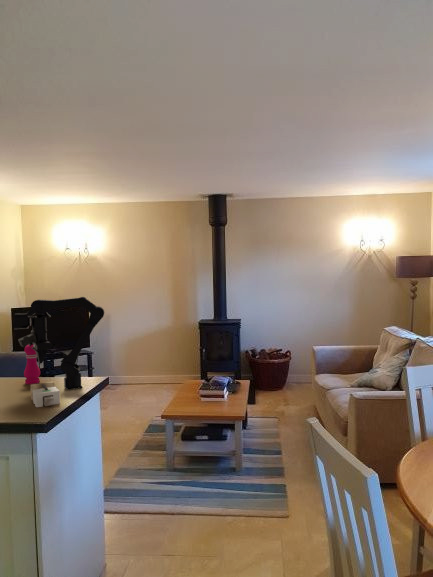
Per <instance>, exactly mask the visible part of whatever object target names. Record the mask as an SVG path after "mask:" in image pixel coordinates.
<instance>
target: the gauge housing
mask: <svg viewBox="0 0 433 577" xmlns="http://www.w3.org/2000/svg"><path fill="white" fill-rule="evenodd" d="M49 395H52V397H53V398H54V405H59V404H61V397H60V396H61V395H60V389H58V387H56V386H55V387H50V388H48V390H45V389H44V388H41V389H36V390H33V400H32V403H33V405H34V404H35V405H34V406H35V407H36V408H41V407H44V403H43V396H49Z"/></svg>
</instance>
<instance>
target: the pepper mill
mask: <svg viewBox="0 0 433 577" xmlns="http://www.w3.org/2000/svg"><path fill="white" fill-rule="evenodd" d="M32 347H33V345H31V346H29V345H26V346H25V347H24V354H25V359H26V365H25V369H24V371H23V377H24V378H25V385H32V384H39V383H40V378H39V377H40V375H41V370H40V368H39V366H38V362H37V358H38V357H37V354H36V351H35V350H33V349H32Z"/></svg>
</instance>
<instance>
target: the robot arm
mask: <svg viewBox="0 0 433 577" xmlns="http://www.w3.org/2000/svg"><path fill="white" fill-rule="evenodd" d="M72 307H82V308H83V309H84V310H86V312H88V313H89V317H88V320H87V323H86V325H85V327H84V328H83V330H82V332H81V333H80V335H79V337H78V338H77V340H76V342H75V344H74V345H73V347H72V349H71V350H70V351H69V352H68V351H65V353H64V355H63V358H62V359H61V360H60V369H61V371H62V372H64V374H65V376H64V378H63V384H64V385H63V386H64V388H65V389H66V390H67V391H69V390H70V391H71V390H76V389H83V386H82V373H80V370H81V366H80V365H78V364H77V361H78V358H79V355H80V353H81V351H82V349H83V348H84V346H85V344H86V343H87V341H88V339H89V337H90V335H91V334H92V332H93V330H94V329H95V327H97V325H98V324H99V322H100V321H101V320H102V319H103V318H104V316H105V309H104V308H103V307H102V306H100V305H98V306H97V305H96V304H94V303H93V302H91V301H90V300H88V299H87V298H86V297H85V296H80V297H72V298H64V299H63V298H62V299H56V300H53V299H35V300H33V301H32V302H31V304H30V309H29V310H28V311H27V312H26V313H14V314H13V320H12V328H13V330H27V329H29V328H30V327H31V326H32V327H31V328H32V330H31V331H30V334H28V335H26V336H23V337H20V338H18V339H17V340H18V343H19V345H20V347H22V348H25V347H26V346H27V345H29V346H31V345H33V347H32V349H33V350H35V351H36V354H37V357H36V358H37V360H38V364H43V363H44V360H45V357H46V355H47V354H48V351H49V350H51V349H53V343H52V342H50V341H49V339H48V337H47V336H48V334H47V333H48V332H49V330H48V329H47V318H51V317H52V315H50V314H49V313H48V312H47V311H51V310H55V309H63V308H72ZM36 314H37V315H36ZM34 315H35V316H34Z"/></svg>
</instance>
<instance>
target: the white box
mask: <svg viewBox="0 0 433 577" xmlns="http://www.w3.org/2000/svg"><path fill="white" fill-rule="evenodd" d="M55 384H56V383H55V381H48V382H46V381H45V382H41V383H40V382H39V383H36V384H30V400H31V401H33V390H36V389H41V388H44V389H45V390H48V388H50V387H56V386H55ZM54 405H55V404H54V398H53V397H52V395H49V396H43V406H45V407H48V406H54Z"/></svg>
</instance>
